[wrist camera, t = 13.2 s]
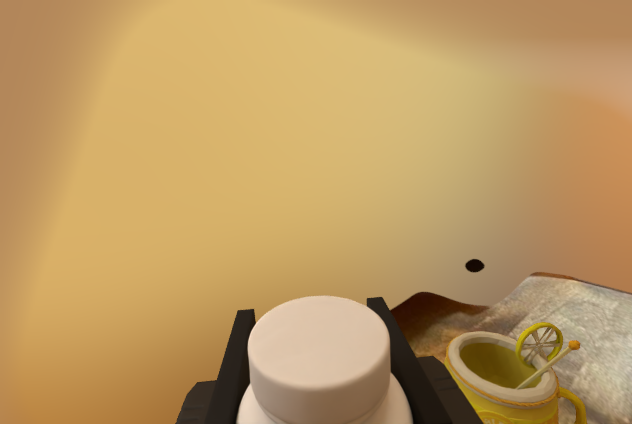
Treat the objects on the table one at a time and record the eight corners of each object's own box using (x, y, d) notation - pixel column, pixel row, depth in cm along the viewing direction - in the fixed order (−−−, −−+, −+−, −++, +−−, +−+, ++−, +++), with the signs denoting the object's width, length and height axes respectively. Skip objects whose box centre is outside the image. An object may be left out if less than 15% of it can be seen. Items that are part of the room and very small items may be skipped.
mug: (430, 443, 30) (435, 342, 27) (444, 369, 40) (449, 287, 37) (597, 516, 24) (628, 395, 21) (568, 408, 33) (587, 313, 30)
